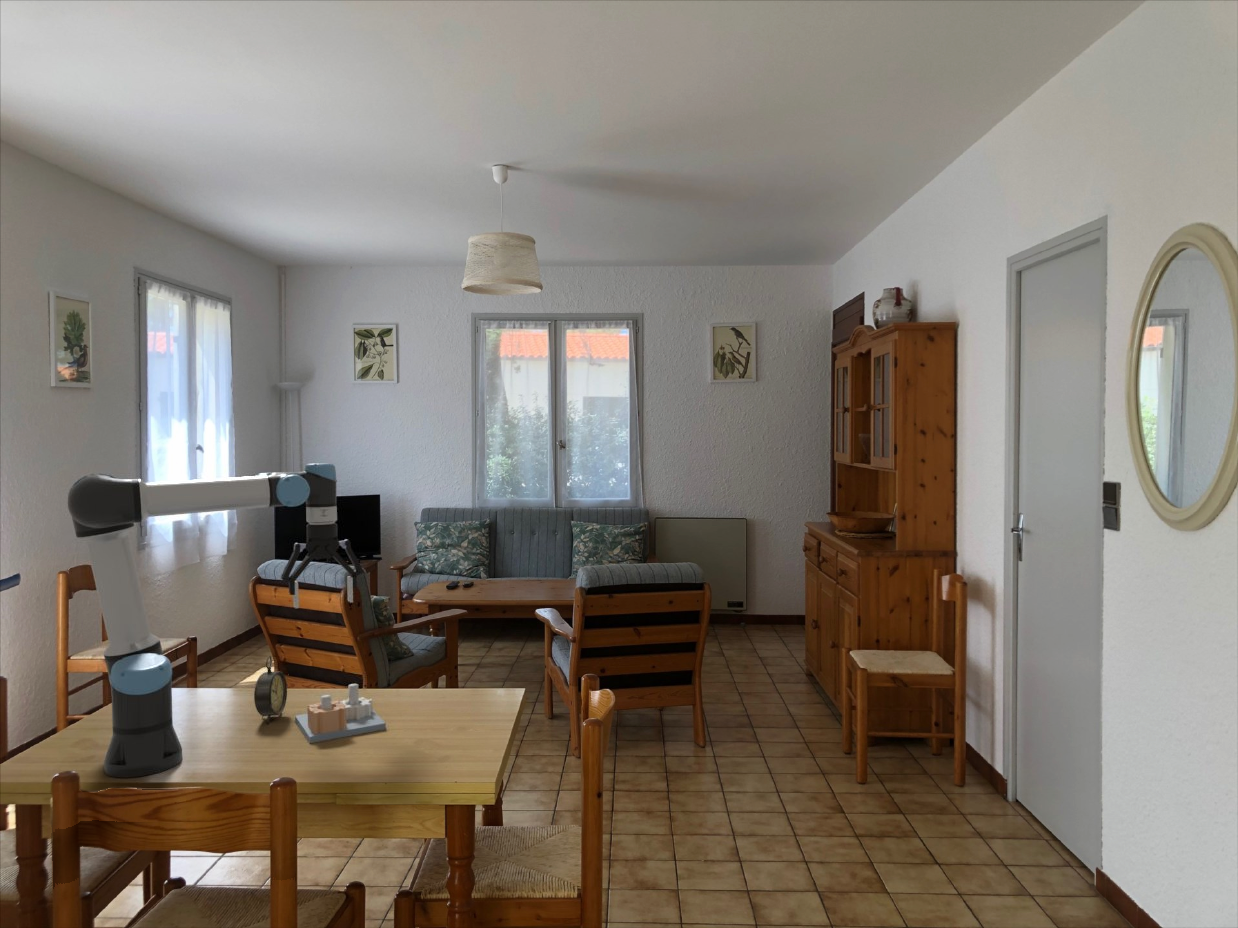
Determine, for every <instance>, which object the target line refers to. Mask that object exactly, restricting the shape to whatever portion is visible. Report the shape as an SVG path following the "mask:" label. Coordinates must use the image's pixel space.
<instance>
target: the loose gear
mask: <svg viewBox="0 0 1238 928" xmlns="http://www.w3.org/2000/svg"><path fill="white" fill-rule="evenodd" d="M340 701H341V700H335V701H334V700H331V706H332V709H326V710H322V709H321V702H317V703H314V704H308V705H307V714H308V726H309V729H310V730H311V732H313V734H318V733H327V732H332V731H338V730H340V729H345V728H347V722H346V707H345V705H344V704H343V703H342V702H340Z"/></svg>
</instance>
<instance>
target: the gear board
mask: <svg viewBox="0 0 1238 928" xmlns="http://www.w3.org/2000/svg"><path fill="white" fill-rule="evenodd" d="M331 701H332V695H331V694H325V695H322V696H320V703H321V709H322V710H326V709H332V706H331ZM340 702H342V703H343V704H344V705H345V707H346V722H347V728H345V729H340V730H338V731H332V732H327V733H318V734H313V732H311V730H310V729H309V726H308V713H302V714H297V715H294V720H295V721H294V722H295V723H296V725H297V727H298V728H299V729H300V731H301V732H302V734H303V735H304V737H305V738H306V740H307V741H308V743H309V744H313V743H319V742H324V741H329V740H334V739H339V738H345V737H350V736H355V735H361V734H367V733H372V732H377V731H378V732H379V731H383V730H387V727H386V726H387V725H386V722H385V720H383V719H382V717H380V716H379V715H378V714H377V713H376V711H375V710H374V709H373V699H372V698H371V699H367V698H366V697H363V696H362V697H359V684H358V683H350V684H348V698H347V699H343V700H340Z"/></svg>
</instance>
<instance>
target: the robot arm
mask: <svg viewBox="0 0 1238 928" xmlns="http://www.w3.org/2000/svg"><path fill="white" fill-rule="evenodd" d="M304 467H305V468H304V471H302V470H301V471H281V472H279V471H277V472H275V471H274V472H273V471H269V472H261V473H260V472H259V473H258V474H256V475H255V476H254V475H253V476H241V477H240V476H238V477H222V478H206V479H191V480H190V479H189V480H171V481H155V482H145V481H144V480H142V478H133V479H132V478H130V479H129V478H127V479H124V478H117V477H115V476H113V475H111V474H106V473H91V474H89V475H85V476H83V477H81V478H79V479H78V480H76V482H74V483H73V484H72V486H71V487H70V489H69V491H68V495H67V509H68V512H69V515H70V516H71V519H72V523H73V528H74V532H75V536H76V539H77V540H79V541H80V542H83V543H85V545H86V550H87V552H88V557H89V561H90V567H91V571H92V574H93V579H94V582H95V583H94V584H95V589H96V592H97V597H98V601H99V604H100V605H99V606H100V609H101V615H102V618H103V619H102V620H103V622H104V626H105V631H106V636H107V641H108V645H107V647H106V648H105V650H104V651H103V657H104V662H105V666H106V670H107V675H108V680H109V684H110V694H111V715H112V716H111V721H112V737H111V739H110V743H109V746H108V748H107V751H106V754H105V756H104V757H105V759H104V761H103V762H104V763H103V764H104V767H103V768H104V774H106V775H107V776H109V777H113V778H135V777H144V776H147V775H154V774H157V773H160V772H163V771H166V770H169V769H171V768H173V767H175V766H177V765H179V764H180V763H181V761H182V760H183V748H182V744H181V742H180V740H179V738H178V735H177V733H176V730H175V728H174V726H173V724H174V723H173V720H174V719H173V694H172V692H173V691H172V689H173V687H172V685H173V684H172V676H173V669H172V666H171V660H170V659H169V658H168V657H167V656H165V655H164V652H163V648H162V644H161V639H160V637H158V636H156V635H155V634H153V633H151V629H150V624H149V620H148V614H147V611H146V606H145V602H144V598H143V592H142V589H141V583H140V579H139V575H138V569H137V566H136V561H135V557H134V553H133V549H132V543H131V539H130V533H131V532H132V531H133V529H134V528H135V524H136V523H143V522H144V521H145V520H146V519H148V518H150V517H163V516H165V517H166V516H174V515H175V516H176V515H187V514H198V513H209V512H211V513H213V512H223V511H235V510H247V509H259V508H273V507H274V508H275V507H285V506H286V507H288V508H289V507H290V508H291V507H298V506H301V505H302V504H304V503H305V506H306V507H305V509H306V510H305V513H306V514H305V515H306V518H305V519H306V523H308V524H307V525H306V542H305V543H298V542H295V543H293V550H292V553H291V555H290V558H289V559H288V561H287V563H286V564H285V568H284V570H283V571H282V574H281V576H280V579H281V580H282V581H283V582H287V583H288V593H289V595H290V596H292V597H293V599H292V601H293V607H294V609H299V608H300V607H299V603H300V602H299V582H298V581H296V580H298V578H299V577H300V576H301V574H302V573H303V572H304V571H305V570H306V568H307V567H308V565H310V563H311V562H312V561H313V560H314V559H315V560H317V561H318V560H322V559H325V560H327V559H331V558H333V559H334V560H335V561H336V562H337V563H338V564H339V565H340V566H341V567H342V568H343V569H344V570H345V571H346V572H347V573H348V574H349V576H347V577H346V580H347V581H346V585H347V586H346V587H347V590H346V591H347V601H348V602H349V603H354V590H355V589H357V577H358V576H360V575H362V574H363V573H364V569H363V567H362V566H361V563H360V562H359V560H358V558H357V556H356V555H355V553H354V551H353V549H352V545H351V541H350V540H349V539H348V538H347V539H346V538H345V539H344V540H339V539H338V524H337V521H338V512H337V510H338V507H337V482H338V480H337V470H336V465H334V464H333V463H331V462H329V463H328V462H327V463H326V462H325V463H323V462H321V463H320V462H319V463H318V462H316V463H307V464H305V466H304ZM339 547H341V549H344V550H345V551H344V552H346V555H347V556H348V558H349V560H350V561H351V564H352V565H353V567H354V569H355V570H354V569H353V568H352V567H351V566H350V565H349V563H347V562H346V561H345V560H344V559H343V558H342V556H341V555H340V554H339V553H338V552H337V551H338V549H339ZM304 549H306V551H307V552H308V553H307V554H306V555H305V556H304V558H303V560H301V562H300V563H299V565H298V566H297V567H296V568H295V570H294V571H293V572H292V570H293V569H294V567H295V564H296V562H297V559H298V558H299V556H300V553H301V552H304V551H303V550H304ZM291 572H292V573H291Z"/></svg>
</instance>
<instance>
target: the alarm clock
mask: <svg viewBox="0 0 1238 928" xmlns="http://www.w3.org/2000/svg"><path fill="white" fill-rule="evenodd" d="M269 659H270V662H269ZM268 662H269V663H270V664H269V666H268ZM272 662H273V661H272V656H271V655H268V656H267V658H266V663H265V665H266V666H265V667H266V670H267V671H266V672H263V673H261V674H260V675H259V677H258V678H257V679H256V683H255V686H254V691H253V692H254V694H253V695H254V696H253V699H254V705H255V710H256V712H257V713H258V714H259V715H260V716H261V718H264V717H267V718H266V720H267V721H266V725H268V724H270V720H271V716H279V715H281V714H282V712H283V711H284V709H285V707H286V702H287V699H288V698H287V697H288V685H287V680H286V677H285V675H284V673H283V672H282V671H280V670H278V671H272V670H271V669H272Z"/></svg>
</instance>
